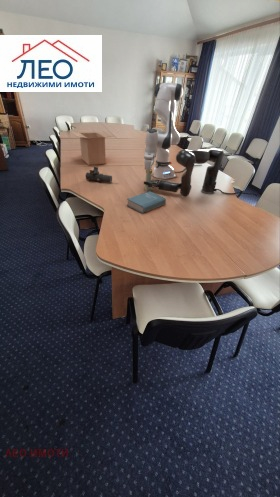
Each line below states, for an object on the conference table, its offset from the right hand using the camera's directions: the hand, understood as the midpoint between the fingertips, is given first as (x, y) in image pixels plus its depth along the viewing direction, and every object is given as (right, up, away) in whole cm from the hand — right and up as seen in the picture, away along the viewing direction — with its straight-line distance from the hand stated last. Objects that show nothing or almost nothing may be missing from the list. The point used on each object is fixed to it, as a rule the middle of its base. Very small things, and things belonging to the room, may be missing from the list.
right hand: (145, 181), depth 178 cm
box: (-54, +40, +59) cm, 89 cm away
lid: (+3, +7, -6) cm, 10 cm away
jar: (+2, -6, +3) cm, 7 cm away
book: (+1, -23, -20) cm, 31 cm away
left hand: (+3, +6, -5) cm, 8 cm away
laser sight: (-40, +4, +12) cm, 42 cm away
